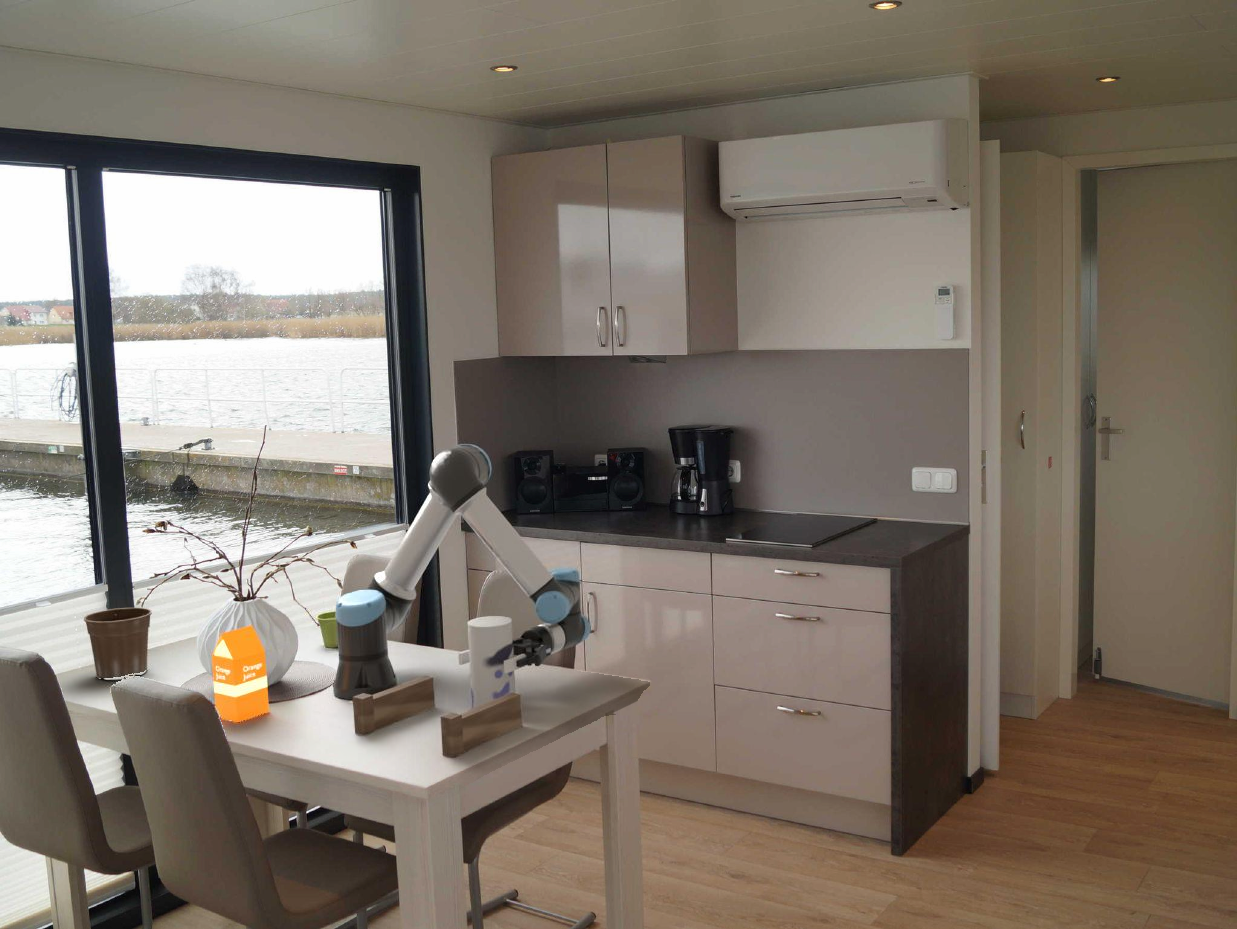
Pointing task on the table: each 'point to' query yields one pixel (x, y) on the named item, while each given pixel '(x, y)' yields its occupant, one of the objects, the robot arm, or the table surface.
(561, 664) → the table surface
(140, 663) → the plant pot
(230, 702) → the orange juice
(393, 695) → the channel
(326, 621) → the plant pot
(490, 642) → the container
